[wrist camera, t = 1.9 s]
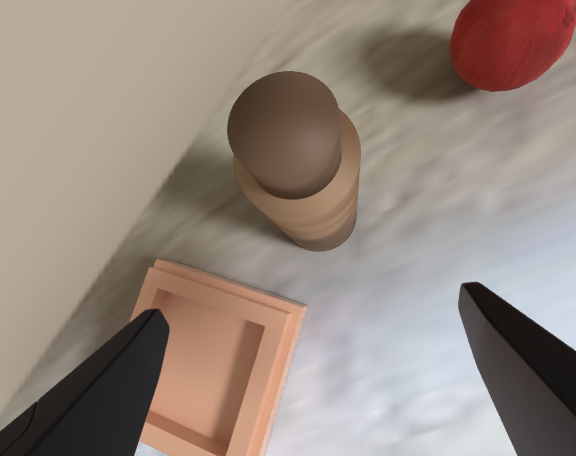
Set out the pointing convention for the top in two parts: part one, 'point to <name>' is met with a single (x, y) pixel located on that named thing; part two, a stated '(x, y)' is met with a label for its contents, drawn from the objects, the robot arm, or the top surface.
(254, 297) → the mill holder
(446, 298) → the top surface
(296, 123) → the pepper mill
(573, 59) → the top surface
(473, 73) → the onion
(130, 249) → the top surface
